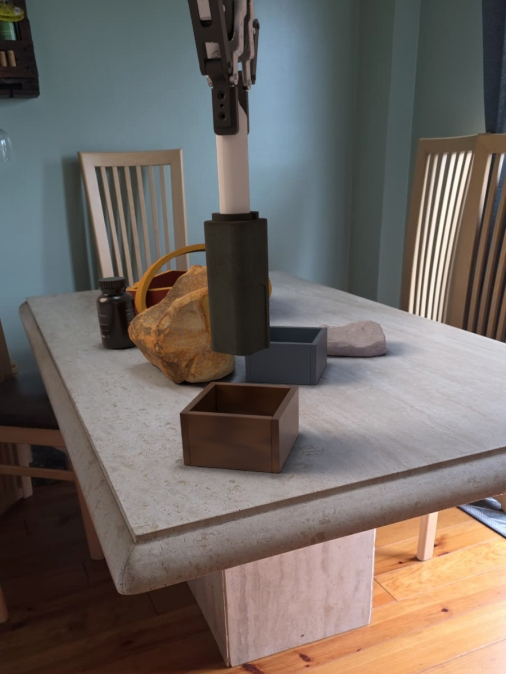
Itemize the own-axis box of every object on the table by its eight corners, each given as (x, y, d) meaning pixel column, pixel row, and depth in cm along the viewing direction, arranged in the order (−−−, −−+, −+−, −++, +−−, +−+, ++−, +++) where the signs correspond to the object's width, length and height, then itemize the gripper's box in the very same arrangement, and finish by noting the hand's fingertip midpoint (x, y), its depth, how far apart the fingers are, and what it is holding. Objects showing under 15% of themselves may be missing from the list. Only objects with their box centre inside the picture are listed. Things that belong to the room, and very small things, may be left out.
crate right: (326, 364, 99) (327, 327, 97) (316, 385, 90) (316, 344, 88) (262, 361, 102) (261, 325, 99) (245, 381, 93) (244, 342, 90)
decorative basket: (239, 303, 158) (231, 241, 154) (309, 302, 134) (301, 229, 130) (114, 325, 142) (101, 257, 137) (168, 329, 118) (154, 247, 113)
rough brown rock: (146, 354, 111) (129, 269, 105) (238, 343, 111) (227, 257, 104) (123, 402, 90) (100, 300, 84) (236, 389, 90) (222, 285, 83)
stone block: (390, 365, 103) (376, 339, 112) (392, 339, 101) (378, 314, 109) (319, 371, 103) (311, 344, 111) (319, 345, 100) (311, 319, 108)
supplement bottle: (129, 338, 119) (121, 274, 114) (145, 345, 114) (138, 278, 109) (95, 344, 116) (86, 278, 111) (111, 351, 110) (102, 283, 106)
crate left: (298, 434, 74) (298, 386, 71) (279, 473, 64) (278, 419, 62) (213, 428, 76) (211, 381, 74) (183, 465, 67) (179, 413, 64)
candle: (245, 357, 62) (233, 67, 52) (207, 350, 65) (188, 74, 55) (274, 345, 66) (269, 72, 56) (237, 340, 69) (225, 78, 58)
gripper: (243, -150, 43) (252, 130, 50) (285, -80, 55) (287, 136, 63) (143, -133, 45) (165, 135, 52) (205, -69, 57) (216, 140, 64)
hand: (232, 134), depth 57 cm, fingers closed on candle, 3 cm apart
